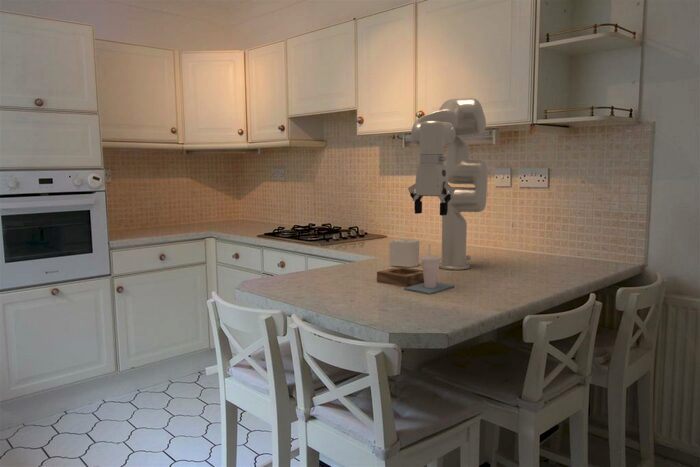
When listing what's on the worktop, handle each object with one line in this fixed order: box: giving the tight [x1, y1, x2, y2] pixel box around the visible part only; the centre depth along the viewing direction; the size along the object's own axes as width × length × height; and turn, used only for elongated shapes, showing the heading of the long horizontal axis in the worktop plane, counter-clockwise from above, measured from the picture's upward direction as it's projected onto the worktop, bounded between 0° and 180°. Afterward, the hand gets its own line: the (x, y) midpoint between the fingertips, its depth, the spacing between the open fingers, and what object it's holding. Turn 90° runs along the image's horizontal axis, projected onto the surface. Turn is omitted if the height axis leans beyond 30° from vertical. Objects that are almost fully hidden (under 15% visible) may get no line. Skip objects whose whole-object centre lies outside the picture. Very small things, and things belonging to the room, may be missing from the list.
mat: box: [403, 282, 455, 295], centre depth 176 cm, size 14×10×1 cm
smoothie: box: [420, 244, 442, 288], centre depth 175 cm, size 6×6×14 cm
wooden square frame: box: [376, 266, 424, 288], centre depth 186 cm, size 13×13×4 cm
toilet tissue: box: [388, 238, 420, 268], centre depth 218 cm, size 11×12×10 cm
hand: (430, 214), depth 173 cm, fingers open, 9 cm apart
